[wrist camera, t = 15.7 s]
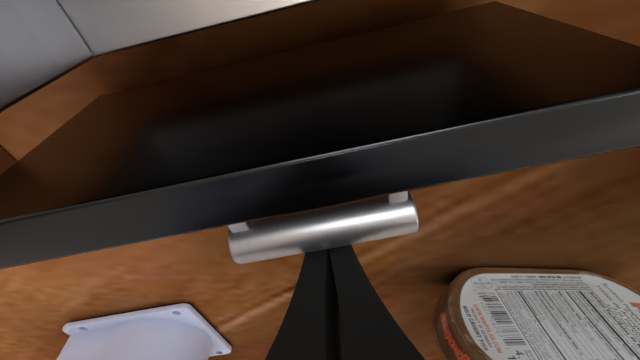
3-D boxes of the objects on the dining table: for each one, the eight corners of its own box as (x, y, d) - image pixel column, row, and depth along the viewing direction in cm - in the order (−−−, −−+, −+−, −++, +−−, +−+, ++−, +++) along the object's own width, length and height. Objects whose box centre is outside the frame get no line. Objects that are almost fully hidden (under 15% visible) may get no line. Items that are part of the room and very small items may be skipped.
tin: (413, 285, 21) (467, 442, 14) (429, 258, 19) (498, 425, 13) (600, 287, 23) (722, 427, 16) (632, 262, 21) (784, 410, 14)
